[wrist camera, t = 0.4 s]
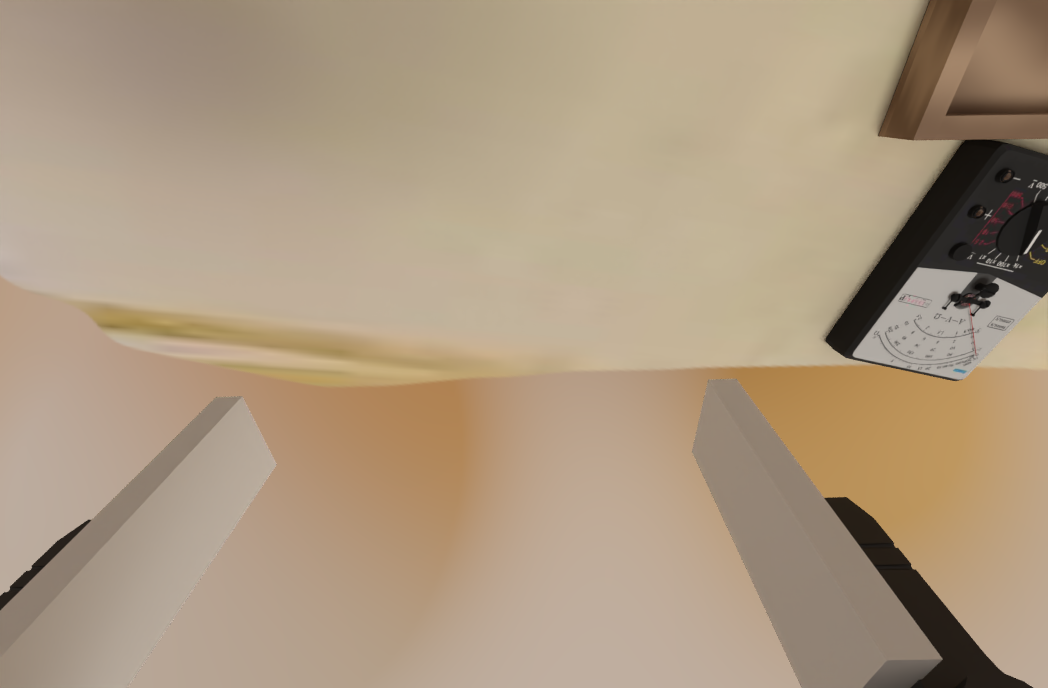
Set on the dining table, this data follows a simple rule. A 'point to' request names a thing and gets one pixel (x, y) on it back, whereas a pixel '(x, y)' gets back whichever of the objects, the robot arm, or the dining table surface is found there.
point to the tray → (975, 73)
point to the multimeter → (956, 267)
